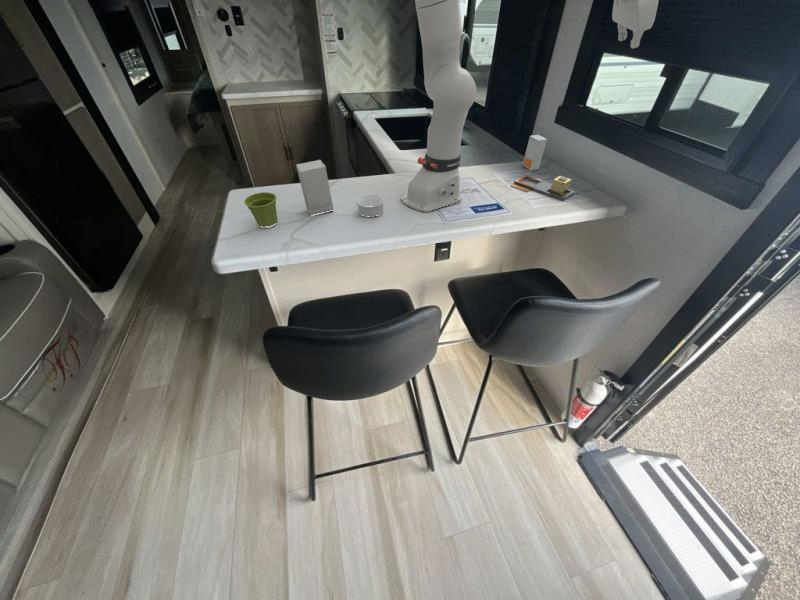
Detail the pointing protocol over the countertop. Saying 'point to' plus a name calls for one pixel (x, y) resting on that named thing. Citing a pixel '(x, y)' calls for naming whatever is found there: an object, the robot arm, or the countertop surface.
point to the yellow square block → (560, 186)
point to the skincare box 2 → (534, 152)
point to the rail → (539, 187)
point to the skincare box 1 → (315, 186)
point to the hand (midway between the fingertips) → (628, 43)
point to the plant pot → (263, 208)
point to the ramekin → (370, 200)
